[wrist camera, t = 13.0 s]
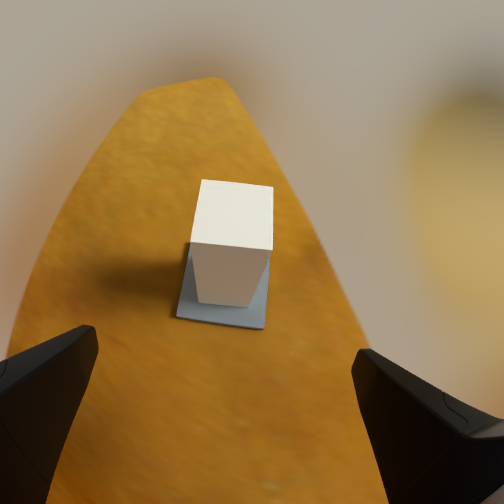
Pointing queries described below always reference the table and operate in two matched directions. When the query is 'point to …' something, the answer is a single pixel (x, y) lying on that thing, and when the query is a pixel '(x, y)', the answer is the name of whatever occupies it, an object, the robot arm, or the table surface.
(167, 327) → the table surface
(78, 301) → the table surface
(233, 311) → the slate mat
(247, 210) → the tall block
